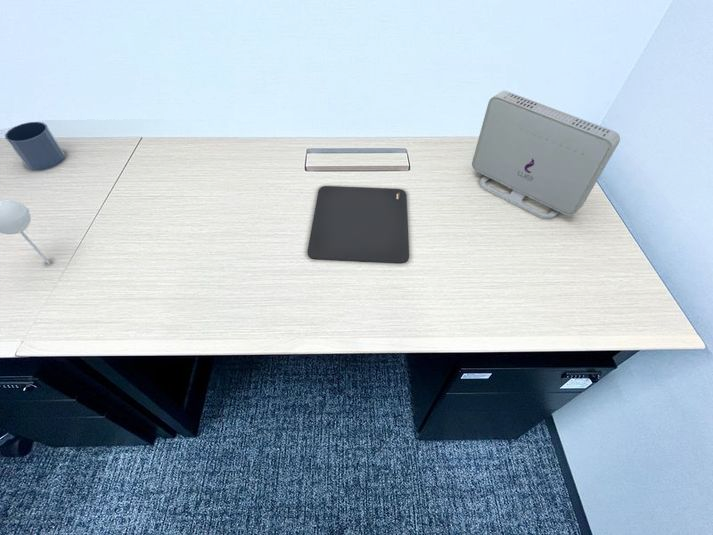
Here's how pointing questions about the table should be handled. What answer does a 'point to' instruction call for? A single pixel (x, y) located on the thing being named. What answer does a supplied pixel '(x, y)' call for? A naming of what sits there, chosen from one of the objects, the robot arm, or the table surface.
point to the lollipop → (16, 220)
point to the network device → (541, 154)
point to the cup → (35, 145)
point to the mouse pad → (360, 225)
